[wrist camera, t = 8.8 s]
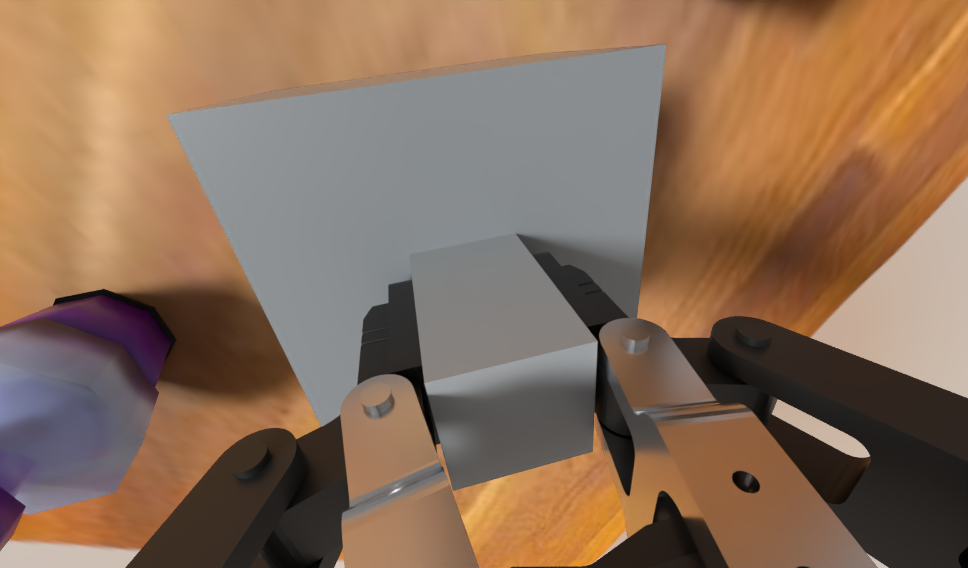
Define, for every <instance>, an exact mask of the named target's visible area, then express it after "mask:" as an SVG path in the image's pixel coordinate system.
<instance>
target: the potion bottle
mask: <svg viewBox="0 0 968 568" xmlns="http://www.w3.org/2000/svg"><path fill="white" fill-rule="evenodd" d="M175 341H176V339H175V337H174V336H173V334H172V333H171V331H170V330H169V328H168V327H167V325H166V324H165V323H164V321H163V320H162V318H161V317H160V315H159V314H158V312H157V311H156V310H155V308H154V307H151V306H148V305H146V304H143V303H140V302H137V301H135V300H132V299H129V298H126V297H124V296H121V295H118V294H115V293H113V292H110V291H107V290H104V289H102V290H97V291H92V292H87V293H82V294H77V295H72V296H67V297H62V298H57V299H55V302H54V304H53V306H51V307H49V308H46V309H44V310H41V311H39V312H36V313H34V314H31V315H29V316H26V317H24V318H21V319H19V320H16V321H14V322H11V323H9V324H6V325H4V326H1V327H0V551H1V550H2V548H3V547H4V546H5V544H6V543H7V542H8V541H9V539H10V538H11V537H12V536H13V534H14V532H15V530H16V528H17V525H18V523H19V521H20V519H21V516H22V514H35V513H39V512H42V511H46V510H50V509H54V508H58V507H62V506H66V505H69V504H73V503H77V502H81V501H85V500H89V499H93V498H97V497H100V496H104V495H108V494H112V493H115V492H116V490H117V489H118V487H119V485H120V483H121V481H122V480H123V478H124V476H125V474H126V472H127V470H128V469H129V467H130V465H131V463H132V461H133V460H134V458H135V456H136V454H137V452H138V450H139V449H140V447H141V445H142V443H143V440H144V436H145V433H146V430H147V427H148V424H149V421H150V418H151V415H152V412H153V409H154V406H155V403H156V400H157V397H158V394H159V392H158V391H157V389H156V388H155V386H156V384H157V381H158V378H159V375H160V372H161V369H162V367H163V364H164V362H165V360H166V358H167V356H168V355H169V353H170V351H171V349H172V347H173V345H174V343H175Z"/></svg>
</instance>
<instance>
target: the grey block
mask: <svg viewBox="0 0 968 568" xmlns="http://www.w3.org/2000/svg"><path fill="white" fill-rule="evenodd" d="M665 53H666V44H661V45H648V46H635V47H621V48H608V49H595V50H581V51H568V52H555V53H542V54H534V55H527V56H520V57H513V58H506V59H498V60H491V61H484V62H477V63H470V64H462V65H455V66H448V67H441V68H433V69H426V70H419V71H412V72H405V73H397V74H390V75H383V76H376V77H369V78H361V79H354V80H347V81H340V82H332V83H325V84H318V85H311V86H304V87H296V88H289V89H282V90H275V91H270V92H265V93H261V94H257V95H252V96H248V97H243V98H239V99H234V100H230V101H226V102H221V103H217V104H212V105H208V106H203V107H199V108H194V109H190V110H186V111H181V112H177V113H172V114H168V115H166V116H167V118H168V120H169V122H170V124H171V126H172V128H173V130H174V132H175V134H176V136H177V138H178V140H179V142H180V144H181V146H182V148H183V150H184V152H185V154H186V156H187V158H188V160H189V162H190V164H191V166H192V168H193V170H194V172H195V174H196V176H197V178H198V180H199V182H200V184H201V186H202V188H203V190H204V192H205V194H206V196H207V198H208V200H209V202H210V204H211V206H212V208H213V210H214V212H215V214H216V216H217V218H218V220H219V222H220V224H221V226H222V228H223V230H224V232H225V234H226V236H227V238H228V240H229V242H230V244H231V246H232V248H233V250H234V252H235V254H236V256H237V258H238V260H239V262H240V264H241V266H242V268H243V270H244V272H245V274H246V276H247V278H248V280H249V282H250V284H251V286H252V288H253V290H254V292H255V294H256V296H257V298H258V300H259V302H260V304H261V306H262V308H263V310H264V312H265V314H266V316H267V318H268V320H269V322H270V324H271V326H272V328H273V330H274V332H275V334H276V336H277V338H278V340H279V342H280V344H281V346H282V348H283V350H284V352H285V354H286V356H287V358H288V360H289V362H290V364H291V366H292V368H293V370H294V373H295V375H296V377H297V379H298V381H299V383H300V385H301V387H302V389H303V391H304V393H305V395H306V397H307V399H308V401H309V403H310V405H311V407H312V409H313V411H314V413H315V415H316V417H317V419H318V421H319V423H320V425H321V427H322V426H324V425H326V424H327V423H329V422H331V421H332V420H334V419H335V418H337V417H338V416H339V415H340V409H341V405H342V403H343V401H344V399H345V397H346V396H347V395H348V393H349V392H350V391H351V390H352V389H353V388H355V387H356V386H357V382H358V371H359V360H360V349H361V346H362V345H361V339H362V335H363V334H362V328H363V319H364V317H365V316H366V315H367V313H368V312H369V310H370V309H371V308H372V306H376V305H381V304H386V303H388V285H389V284H393V283H398V282H403V281H407V280H412V282H413V291H414V299H415V308H416V317H417V325H418V334H419V342H420V351H421V359H422V368H423V376H424V384H425V388H426V391H427V395H428V399H429V402H430V406H431V410H432V414H433V417H434V421H435V425H436V428H437V432H438V436H439V440H440V443H441V447H442V451H443V454H444V458H445V462H446V466H447V469H448V473H449V477H450V480H451V484H452V488H453V491H454V490H457V489H461V488H464V487H468V486H472V485H475V484H479V483H482V482H486V481H489V480H493V479H497V478H500V477H504V476H507V475H511V474H514V473H518V472H522V471H525V470H529V469H532V468H536V467H539V466H543V465H547V464H550V463H554V462H557V461H561V460H564V459H568V458H572V457H575V456H579V455H582V454H586V453H589V452H593V433H594V411H595V389H596V366H597V344H598V341H597V340H596V338H595V337H594V336H593V335H592V333H591V332H590V331H589V329H588V328H587V327H586V325H585V324H584V323H583V321H582V320H581V319H580V318H579V316H578V315H577V314H576V312H575V311H574V310H573V308H572V307H571V306H570V304H569V303H568V302H567V300H566V299H565V298H564V297H563V295H562V294H561V293H560V291H559V290H558V289H557V287H556V286H555V285H554V283H553V282H552V281H551V279H550V278H549V277H548V276H547V274H546V273H545V272H544V270H543V269H542V268H541V266H540V265H539V264H538V262H537V261H536V260H535V258H534V257H533V256H532V255H534V254H539V253H543V252H549V253H550V254H551V255H552V256H553V257H554V258H555V259H556V260H557V262H558V263H559V264H560V265H561V266H565V265H572V266H574V267H576V268H578V269H581V270H583V271H585V272H586V273H587V274H588V275H589V276H590V277H591V278H592V280H593V281H594V283H596V284H597V285H598V286H599V287H600V288H601V289H602V292H603V291H604V292H605V293H606V294H607V295H608V296H609V297H610V298H611V299H612V300H613V301H614V302H615V304H616V305H617V306H618V307H619V308H620V309H621V310H622V311H623V312H624V313H625V314H626V315H627V316H628V317H629V318H637V312H638V303H639V294H640V284H641V275H642V266H643V257H644V247H645V238H646V229H647V219H648V210H649V201H650V192H651V182H652V173H653V164H654V155H655V145H656V136H657V127H658V117H659V108H660V99H661V90H662V80H663V71H664V62H665Z"/></svg>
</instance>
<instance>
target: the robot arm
mask: <svg viewBox="0 0 968 568" xmlns="http://www.w3.org/2000/svg"><path fill="white" fill-rule="evenodd" d="M532 256H533V257H534V258H535V260H536V261H537V262H538V264H539V265H540V266H541V268H542V269H543V270H544V272H545V273H546V274H547V276H548V277H549V278H550V279H551V281H552V282H553V283H554V285H555V286H556V287H557V289H558V290H559V291H560V293H561V294H562V295H563V297H564V298H565V299H566V300H567V302H568V303H569V304H570V306H571V307H572V308H573V310H574V311H575V312H576V314H577V315H578V316H579V318H580V319H581V320H582V321H583V323H584V324H585V325H586V327H587V328H588V329H589V331H590V332H591V333H592V335H593V336H594V337H595V338H596V340H597V341H598V344H597V366H596V389H595V428H596V432H597V435H598V437H599V440H600V443H601V446H602V449H603V452H604V455H605V458H606V461H607V463H608V466H609V469H610V472H611V475H612V478H613V481H614V484H615V487H616V489H617V492H618V495H619V498H620V501H621V504H622V508H623V512H624V517H625V524H626V532H627V538H628V539H626V540H625V541H624V542H622V543H621V544H619V545H618V546H617V547H615V548H614V549H613V550H611V551H610V552H608V553H607V554H606V555H604V556H603V557H602V558H600V559H599V560H597V561H596V562H595V563H593V564H591V565H588V566H582V567H511V568H878V567H877V566H876V565H875V563H874V562H873V561H872V560H871V559H870V557H869V556H868V555H867V553H868V554H869V555H871V556H872V557H874V558H875V559H877V560H878V561H880V562H881V563H883V564H884V565H886V566H887V567H889V568H968V398H966V397H963V396H960V395H958V394H955V393H952V392H950V391H947V390H945V389H942V388H939V387H937V386H934V385H931V384H929V383H926V382H924V381H921V380H919V379H916V378H913V377H911V376H908V375H906V374H903V373H900V372H898V371H895V370H892V369H890V368H887V367H885V366H882V365H879V364H877V363H874V362H872V361H869V360H866V359H864V358H861V357H859V356H856V355H853V354H850V353H848V352H845V351H843V350H840V349H838V348H835V347H832V346H830V345H827V344H824V343H822V342H819V341H817V340H814V339H812V338H809V337H806V336H804V335H801V334H798V333H796V332H793V331H791V330H788V329H785V328H783V327H780V326H778V325H775V324H772V323H770V322H767V321H764V320H761V319H757V318H751V317H742V316H735V317H727V318H724V319H721V320H719V321H717V322H716V323H715V324H714V325H713V328H712V331H711V336H710V338H671V337H670V336H669V335H668V333H667V332H666V331H665V330H664V329H662V328H661V327H660V326H658V325H656V324H654V323H652V322H649V321H646V320H642V319H637V318H629V317H628V316H627V315H626V314H625V313H624V312H623V311H622V310H621V309H620V308H619V307H618V306H617V305H616V304H615V302H614V301H613V300H612V299H611V298H610V297H609V296H608V295H607V294H606V293H605V292H604V291H603V292H602V289H601V288H600V287H599V286H598V285H597V284H596V283H594V281H593V280H592V278H591V277H590V276H589V275H588V274H587V273H586V272H585V271H583V270H581V269H578V268H576V267H574V266H572V265H565V266H561V265H560V264H559V263H558V262H557V260H556V259H555V258H554V257H553V256H552V255H551V254H550V253H549V252H543V253H539V254H534V255H532ZM362 334H363V335H362V339H361V345H362V346H361V349H360V360H359V371H358V382H357V386H356V387H355V388H353V389H352V390H351V391H350V392H349V393H348V395H347V396H346V397H345V399H344V401H343V403H342V405H341V409H340V415H339V416H338V417H337V418H335V419H334V420H332V421H331V422H329V423H327V424H326V425H324V426H322V427H320V428H318V429H316V430H314V431H312V432H310V433H308V434H306V435H304V436H302V437H300V438H298V439H295V437H294V436H293V434H292V433H290V432H289V431H287V430H285V429H281V428H269V429H264V430H260V431H257V432H255V433H252V434H250V435H248V436H246V437H244V438H243V439H241V440H239V441H238V442H236V443H235V444H234V445H232V446H231V447H230V448H229V449H227V450H226V451H225V452H224V453H223V454H222V455H221V456H220V457H219V458H218V460H217V461H216V462H215V463H214V464H213V465H212V467H211V468H210V469H209V470H208V471H207V473H206V474H205V475H204V476H203V477H202V478H201V480H200V481H199V482H198V483H197V484H196V485H195V487H194V488H193V489H192V490H191V491H190V493H189V494H188V495H187V496H186V497H185V498H184V500H183V501H182V502H181V503H180V504H179V505H178V507H177V508H176V509H175V510H174V511H173V513H172V514H171V515H170V516H169V517H168V518H167V520H166V521H165V522H164V523H163V524H162V525H161V527H160V528H159V529H158V530H157V531H156V532H155V534H154V535H153V536H152V537H151V538H150V540H149V541H148V542H147V543H146V544H145V545H144V547H143V548H142V549H141V550H140V551H139V552H138V554H137V555H136V556H135V557H134V559H133V560H132V561H131V562H130V563H129V564H128V565H127V567H126V568H334V567H335V564H336V562H337V560H338V558H339V556H340V553H341V551H342V548H343V552H344V564H345V568H479V566H478V563H477V560H476V557H475V555H474V552H473V549H472V546H471V543H470V541H469V538H468V535H467V532H466V529H465V527H464V524H463V521H462V518H461V515H460V513H459V510H458V507H457V504H456V501H455V499H454V496H453V493H452V490H451V487H450V485H449V482H448V479H447V476H446V474H445V471H444V469H443V467H441V464H440V461H439V459H438V456H437V449H436V444H440V440H439V436H438V432H437V428H436V425H435V421H434V417H433V414H432V410H431V406H430V402H429V399H428V395H427V391H426V388H425V384H424V376H423V368H422V359H421V351H420V342H419V334H418V325H417V317H416V308H415V299H414V291H413V282H412V280H407V281H403V282H398V283H393V284H389V285H388V303H386V304H381V305H376V306H372V308H371V309H370V310H369V312H368V313H367V315H366V316H365V317H364V319H363V328H362ZM777 399H779V400H781V401H783V402H785V403H787V404H789V405H791V406H793V407H795V408H797V409H799V410H801V411H803V412H805V413H807V414H809V415H811V416H813V417H815V418H817V419H819V420H821V421H823V422H825V423H827V424H829V425H830V426H833V427H834V428H837V429H838V430H840V431H843V432H844V433H846V434H848V435H850V436H852V437H854V438H855V439H857V440H858V441H859V442H860V443H862V444H863V445H864V447H865V448H866V449H867V450H868V452H869V454H870V457H867V458H858V457H853V456H850V455H847V454H845V453H843V452H841V451H839V450H837V449H835V448H833V447H832V446H830V445H828V444H826V443H824V442H822V441H820V440H818V439H817V438H815V437H813V436H811V435H809V434H807V433H805V432H804V431H801V430H800V429H798V428H796V427H794V426H792V425H790V424H788V423H787V422H785V421H783V420H781V419H779V418H777V417H776V416H774V415H772V412H773V409H774V407H775V404H776V402H777Z"/></svg>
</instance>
